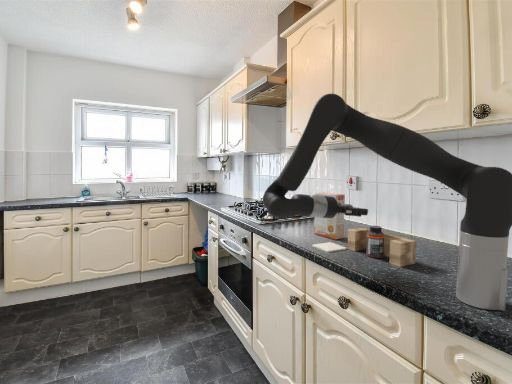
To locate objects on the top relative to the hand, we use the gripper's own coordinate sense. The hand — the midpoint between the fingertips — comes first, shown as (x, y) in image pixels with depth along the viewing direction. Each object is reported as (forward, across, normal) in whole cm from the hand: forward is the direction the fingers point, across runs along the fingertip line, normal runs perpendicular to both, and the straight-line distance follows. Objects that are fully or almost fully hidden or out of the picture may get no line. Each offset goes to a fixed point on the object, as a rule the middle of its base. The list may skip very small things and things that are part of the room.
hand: (358, 209), depth 101 cm
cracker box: (+12, +32, +19) cm, 39 cm away
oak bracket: (+13, 0, +17) cm, 21 cm away
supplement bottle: (+11, 0, +17) cm, 20 cm away
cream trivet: (+1, +15, +19) cm, 24 cm away
